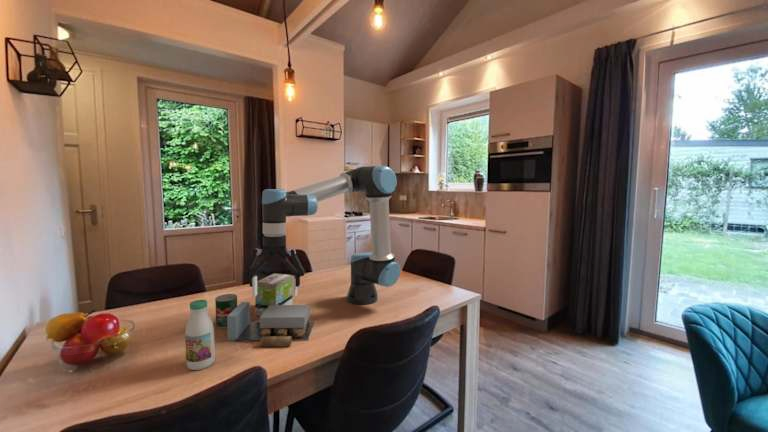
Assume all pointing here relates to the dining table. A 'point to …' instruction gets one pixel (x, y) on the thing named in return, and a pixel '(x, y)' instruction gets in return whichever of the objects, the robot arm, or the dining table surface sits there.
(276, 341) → the roller
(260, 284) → the tea box
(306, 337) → the roller bed
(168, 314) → the dining table surface
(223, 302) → the canned tomato
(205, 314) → the milk bottle
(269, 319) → the slab
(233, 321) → the block
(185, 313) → the dining table surface
